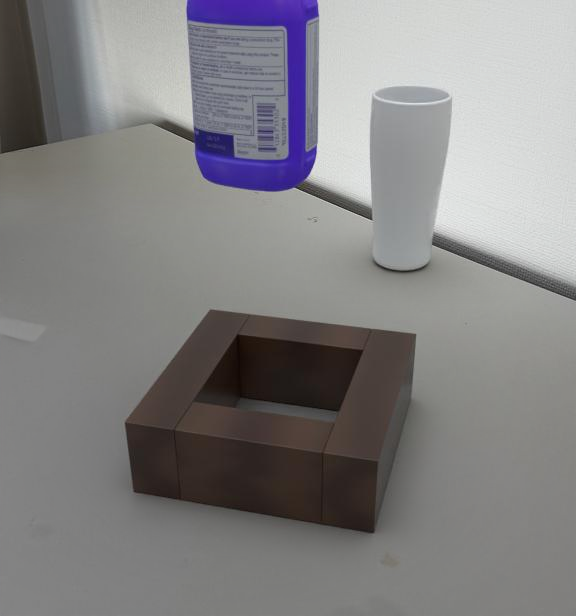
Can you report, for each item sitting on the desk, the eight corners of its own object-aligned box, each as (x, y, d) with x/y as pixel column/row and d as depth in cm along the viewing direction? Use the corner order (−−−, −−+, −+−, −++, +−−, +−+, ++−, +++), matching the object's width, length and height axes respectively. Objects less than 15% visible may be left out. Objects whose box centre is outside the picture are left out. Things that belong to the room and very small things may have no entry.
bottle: (331, 173, 53) (334, -163, 44) (294, 202, 49) (288, -163, 40) (226, 160, 56) (208, -159, 47) (181, 187, 51) (152, -160, 42)
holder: (133, 491, 52) (124, 422, 49) (213, 370, 64) (209, 308, 61) (373, 533, 48) (378, 461, 46) (411, 396, 60) (416, 333, 58)
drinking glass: (450, 256, 81) (467, 90, 73) (417, 282, 76) (430, 108, 68) (386, 241, 84) (395, 80, 76) (350, 265, 79) (356, 96, 71)
